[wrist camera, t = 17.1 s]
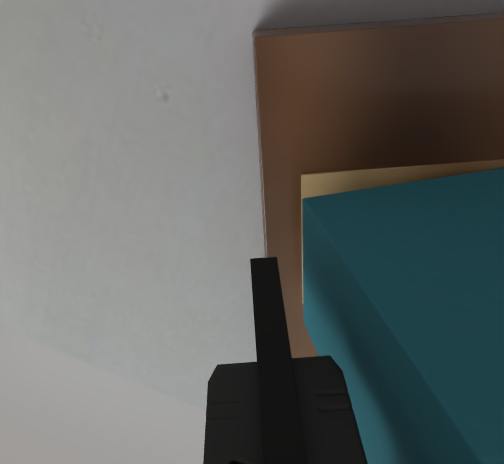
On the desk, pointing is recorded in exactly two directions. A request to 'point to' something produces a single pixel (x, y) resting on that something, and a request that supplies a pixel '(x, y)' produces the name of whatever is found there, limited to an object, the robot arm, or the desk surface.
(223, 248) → the desk surface
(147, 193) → the desk surface
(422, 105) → the wooden stand
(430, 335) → the teal block
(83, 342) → the desk surface
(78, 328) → the desk surface
